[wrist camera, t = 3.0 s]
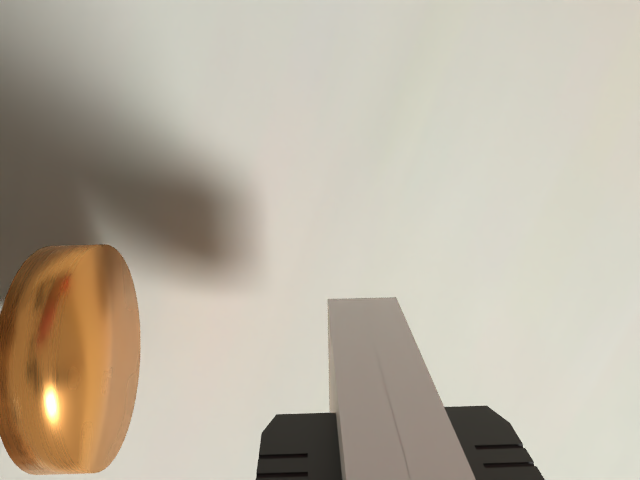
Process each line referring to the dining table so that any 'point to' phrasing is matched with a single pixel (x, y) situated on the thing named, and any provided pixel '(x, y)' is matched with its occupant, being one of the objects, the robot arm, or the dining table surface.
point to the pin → (68, 359)
